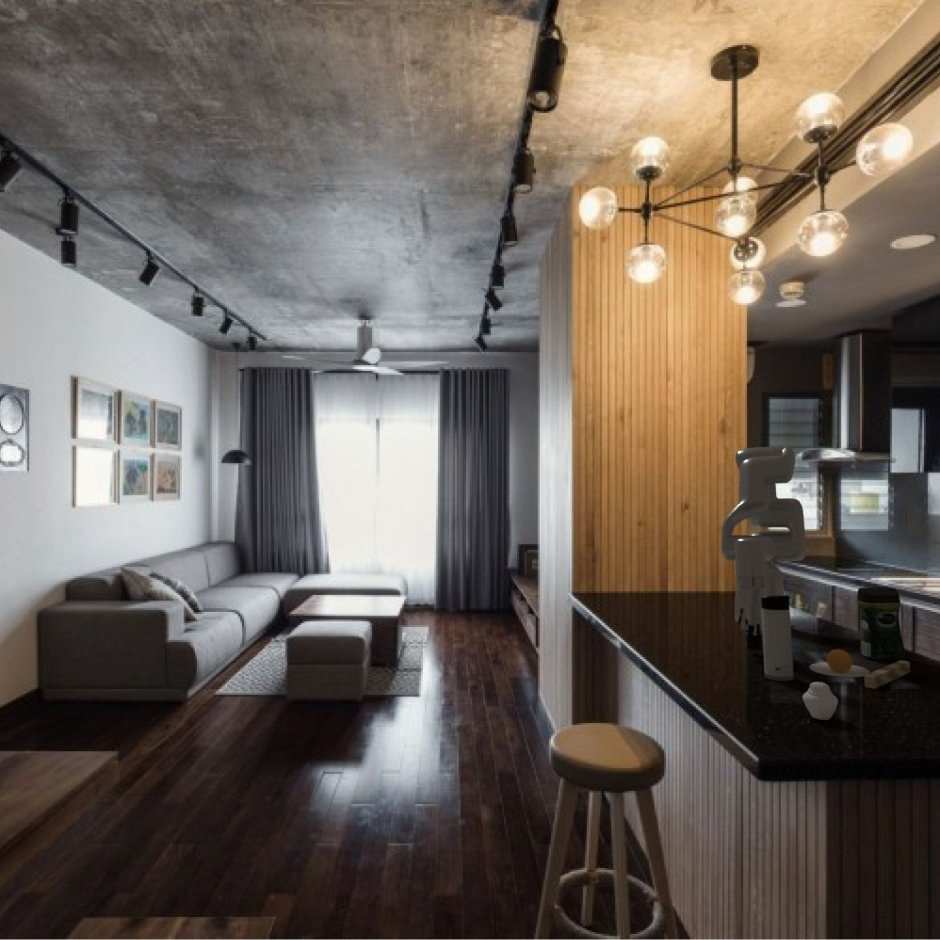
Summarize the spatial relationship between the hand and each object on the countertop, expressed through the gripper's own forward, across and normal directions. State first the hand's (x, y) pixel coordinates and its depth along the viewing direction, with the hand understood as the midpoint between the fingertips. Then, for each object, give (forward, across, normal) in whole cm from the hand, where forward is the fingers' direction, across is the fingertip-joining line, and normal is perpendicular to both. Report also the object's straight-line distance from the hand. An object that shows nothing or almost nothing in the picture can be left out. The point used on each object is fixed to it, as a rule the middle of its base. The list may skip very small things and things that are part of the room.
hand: (754, 648), depth 176 cm
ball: (-1, +2, +23) cm, 23 cm away
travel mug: (+2, +17, +16) cm, 23 cm away
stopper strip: (+2, 0, +33) cm, 33 cm away
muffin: (+2, +37, +35) cm, 51 cm away
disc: (+2, 0, +22) cm, 22 cm away
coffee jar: (+2, -20, +24) cm, 31 cm away
